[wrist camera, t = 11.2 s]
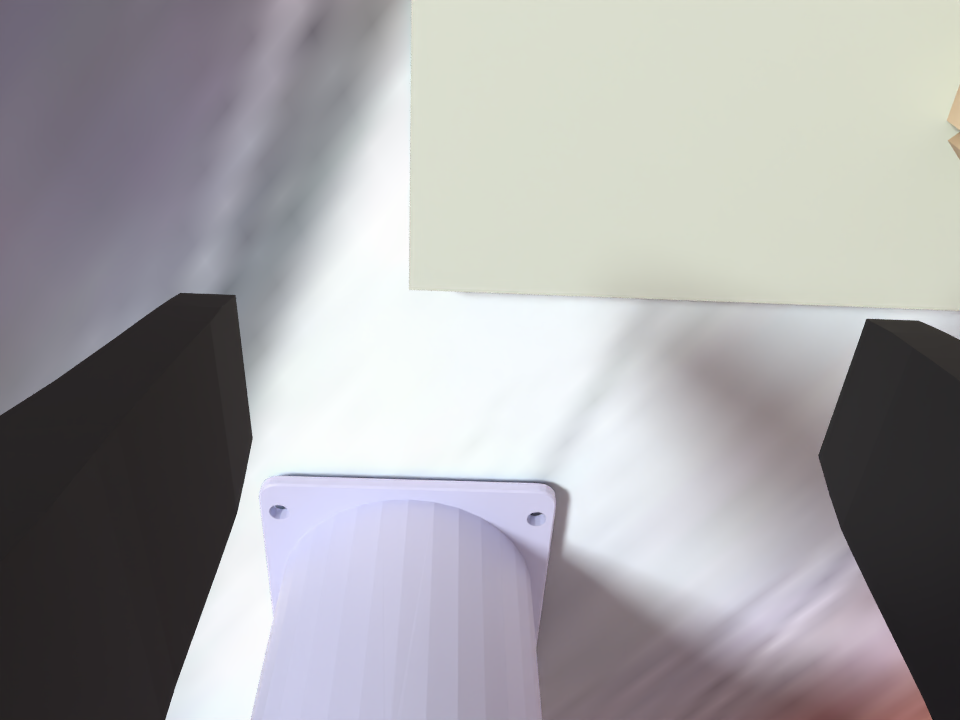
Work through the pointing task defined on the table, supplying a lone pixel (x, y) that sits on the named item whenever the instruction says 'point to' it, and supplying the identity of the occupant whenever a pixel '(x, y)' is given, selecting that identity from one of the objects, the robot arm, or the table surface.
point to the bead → (955, 123)
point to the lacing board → (687, 150)
